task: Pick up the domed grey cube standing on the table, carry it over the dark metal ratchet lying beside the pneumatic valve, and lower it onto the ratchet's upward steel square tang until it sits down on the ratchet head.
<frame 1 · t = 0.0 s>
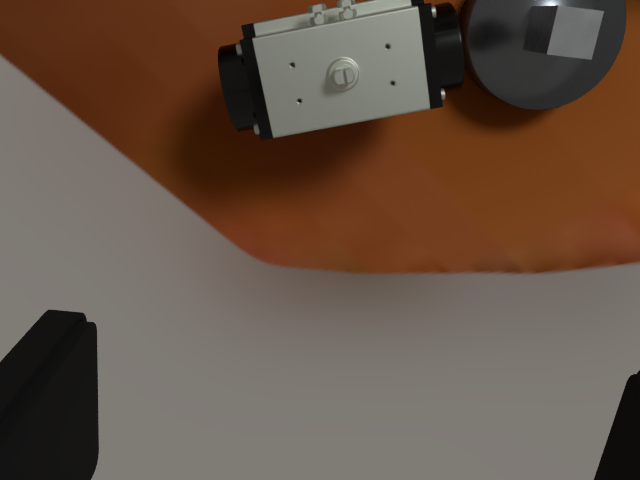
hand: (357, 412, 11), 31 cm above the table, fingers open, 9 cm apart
pneumatic valve: (334, 51, 39), on the table
ratchet: (530, 29, 38), on the table
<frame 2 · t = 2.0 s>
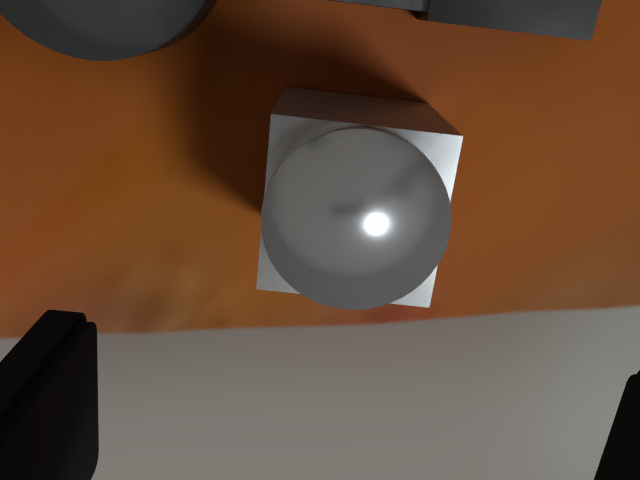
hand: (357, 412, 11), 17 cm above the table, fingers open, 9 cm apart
domed grey cube: (347, 164, 26), on the table
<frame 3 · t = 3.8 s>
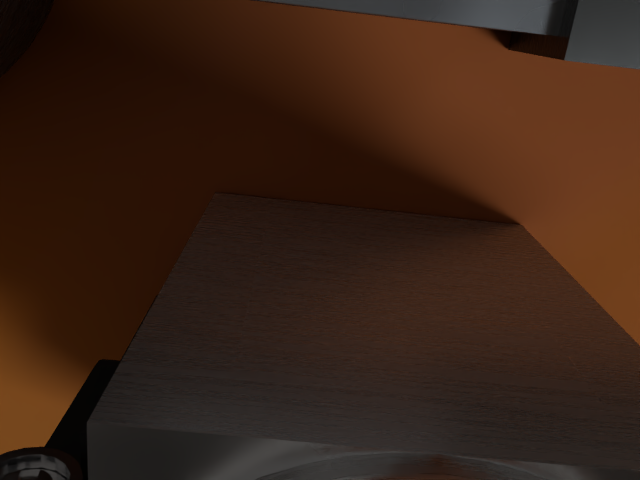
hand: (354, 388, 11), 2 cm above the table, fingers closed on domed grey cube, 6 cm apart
domed grey cube: (350, 344, 13), on the table, touching gripper
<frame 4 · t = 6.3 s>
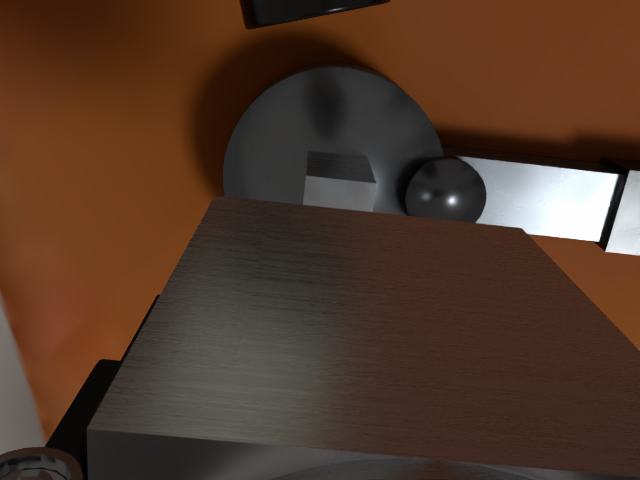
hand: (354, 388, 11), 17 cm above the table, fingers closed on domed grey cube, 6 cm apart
domed grey cube: (350, 346, 13), point 16 cm above the table, touching gripper
ratchet: (332, 165, 28), on the table
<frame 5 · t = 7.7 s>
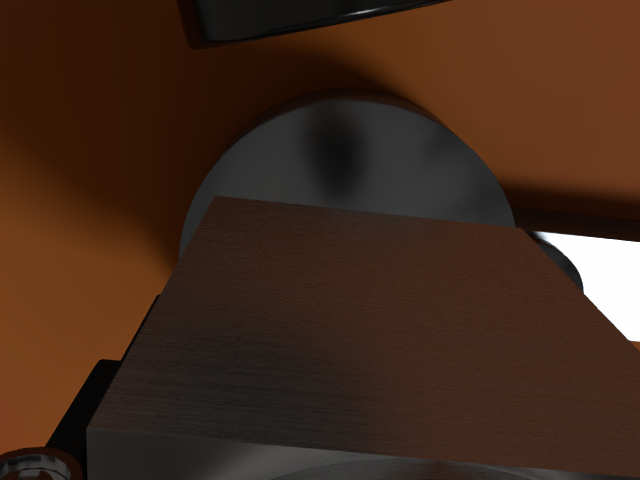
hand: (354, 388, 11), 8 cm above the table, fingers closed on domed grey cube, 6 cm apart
domed grey cube: (349, 346, 13), point 7 cm above the table, touching gripper
ratchet: (344, 235, 19), on the table
when the fingers open (5 cm above the table, at t = 8.7 s): domed grey cube stays where it is, resting on ratchet.
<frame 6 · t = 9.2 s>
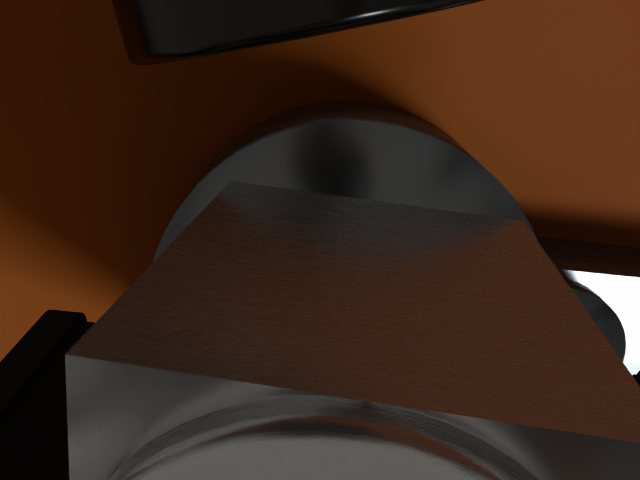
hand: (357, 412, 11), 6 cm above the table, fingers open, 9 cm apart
domed grey cube: (355, 330, 13), point 3 cm above the table, tilted 6°, touching ratchet
ratchet: (342, 270, 17), on the table
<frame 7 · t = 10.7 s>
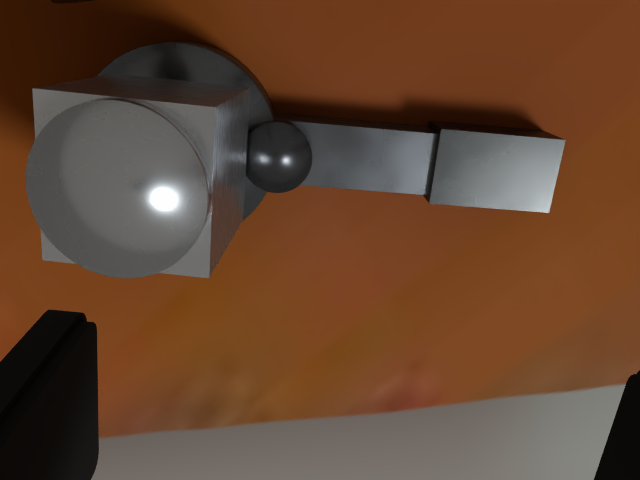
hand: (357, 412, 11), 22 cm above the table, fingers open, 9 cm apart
domed grey cube: (180, 149, 27), point 3 cm above the table, tilted 6°, touching ratchet
ratchet: (187, 135, 30), on the table
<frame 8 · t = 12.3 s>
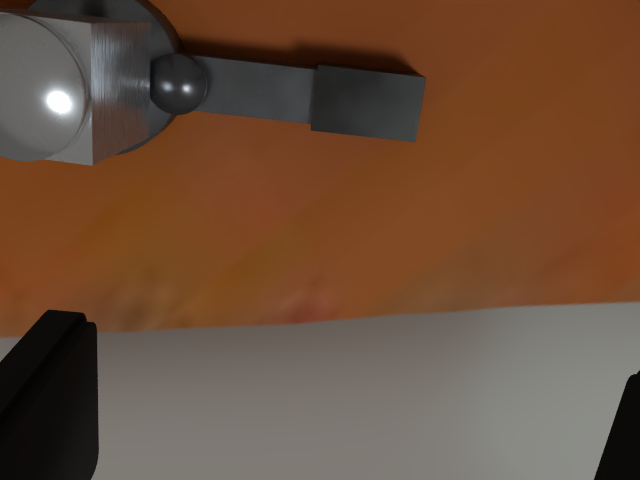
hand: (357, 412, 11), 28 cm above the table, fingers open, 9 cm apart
domed grey cube: (95, 75, 33), point 3 cm above the table, tilted 6°, touching ratchet
ratchet: (111, 69, 36), on the table
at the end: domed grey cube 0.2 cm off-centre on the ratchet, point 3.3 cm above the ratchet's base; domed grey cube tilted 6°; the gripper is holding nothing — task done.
